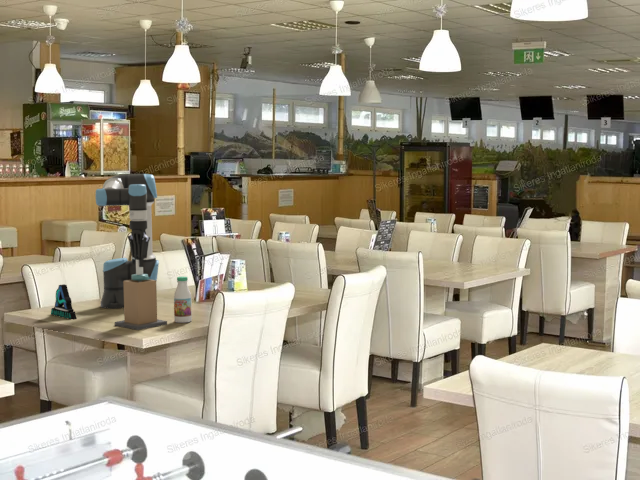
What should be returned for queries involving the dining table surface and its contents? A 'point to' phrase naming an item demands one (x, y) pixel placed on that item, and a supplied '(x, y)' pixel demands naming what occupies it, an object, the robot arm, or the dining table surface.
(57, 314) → the decorative sign
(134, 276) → the pump plunger
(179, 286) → the milk bottle
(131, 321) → the brown pedestal box
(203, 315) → the dining table surface
